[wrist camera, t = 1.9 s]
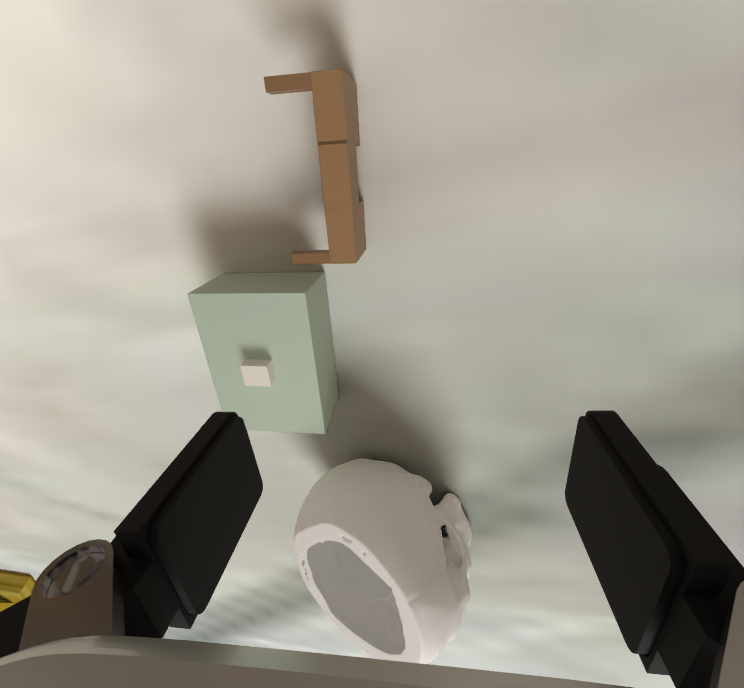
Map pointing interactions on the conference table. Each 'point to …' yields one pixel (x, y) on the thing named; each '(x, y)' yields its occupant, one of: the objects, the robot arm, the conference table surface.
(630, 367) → the conference table surface
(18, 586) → the olive boxy piece
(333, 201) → the wooden staple shape
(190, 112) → the conference table surface
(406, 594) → the skull planter
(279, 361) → the pale green box
